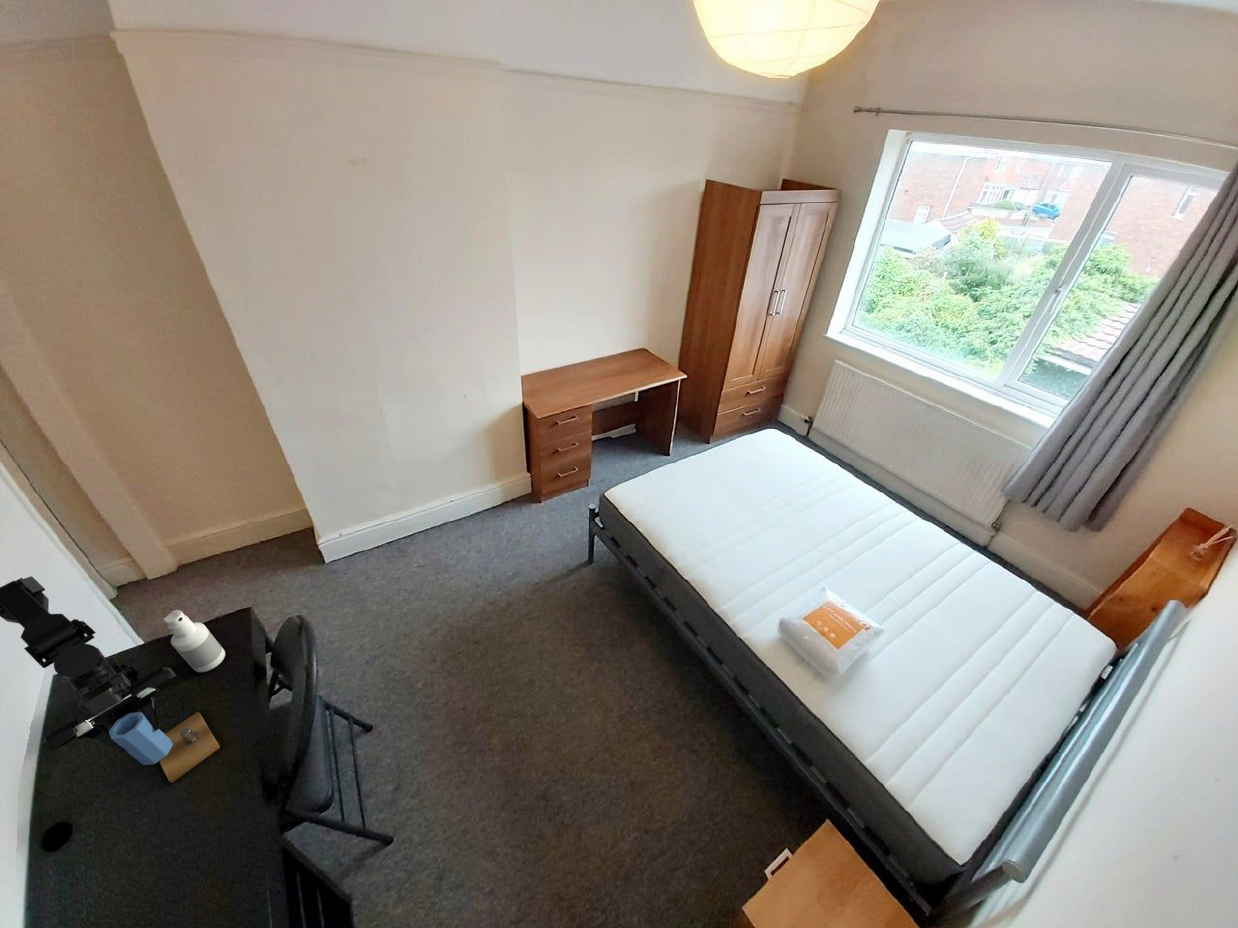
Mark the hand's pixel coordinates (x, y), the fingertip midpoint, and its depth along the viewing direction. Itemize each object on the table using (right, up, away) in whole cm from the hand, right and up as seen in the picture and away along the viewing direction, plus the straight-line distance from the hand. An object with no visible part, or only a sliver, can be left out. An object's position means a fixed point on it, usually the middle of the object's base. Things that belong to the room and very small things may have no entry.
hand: (140, 740), depth 98 cm
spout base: (-1, -8, +11) cm, 13 cm away
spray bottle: (-10, +5, +28) cm, 30 cm away
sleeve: (-1, -5, +5) cm, 7 cm away
